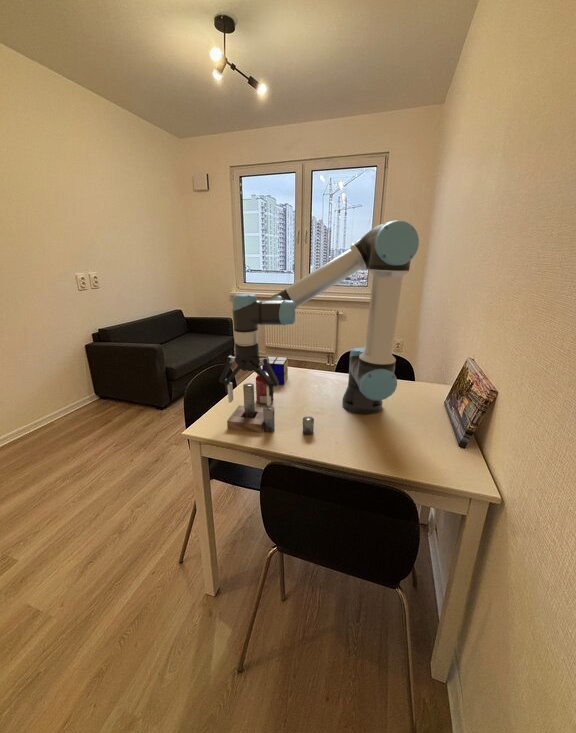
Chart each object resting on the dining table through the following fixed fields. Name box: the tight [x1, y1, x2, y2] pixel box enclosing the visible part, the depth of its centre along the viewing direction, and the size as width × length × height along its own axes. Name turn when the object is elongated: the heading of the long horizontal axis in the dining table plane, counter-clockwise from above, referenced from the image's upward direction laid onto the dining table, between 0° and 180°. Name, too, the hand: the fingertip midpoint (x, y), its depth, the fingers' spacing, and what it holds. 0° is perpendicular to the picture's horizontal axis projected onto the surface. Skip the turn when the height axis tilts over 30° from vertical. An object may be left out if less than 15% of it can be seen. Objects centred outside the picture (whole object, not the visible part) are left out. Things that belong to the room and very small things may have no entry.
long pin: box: [242, 382, 256, 418], centre depth 111 cm, size 4×4×14 cm
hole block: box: [226, 404, 264, 433], centre depth 113 cm, size 12×12×3 cm
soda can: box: [255, 371, 274, 405], centre depth 127 cm, size 7×7×12 cm
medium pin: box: [263, 405, 276, 434], centre depth 107 cm, size 4×4×8 cm
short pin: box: [302, 416, 315, 436], centre depth 106 cm, size 4×4×5 cm
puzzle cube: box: [261, 356, 289, 386], centre depth 149 cm, size 10×10×10 cm
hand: (249, 402), depth 111 cm, fingers open, 13 cm apart
